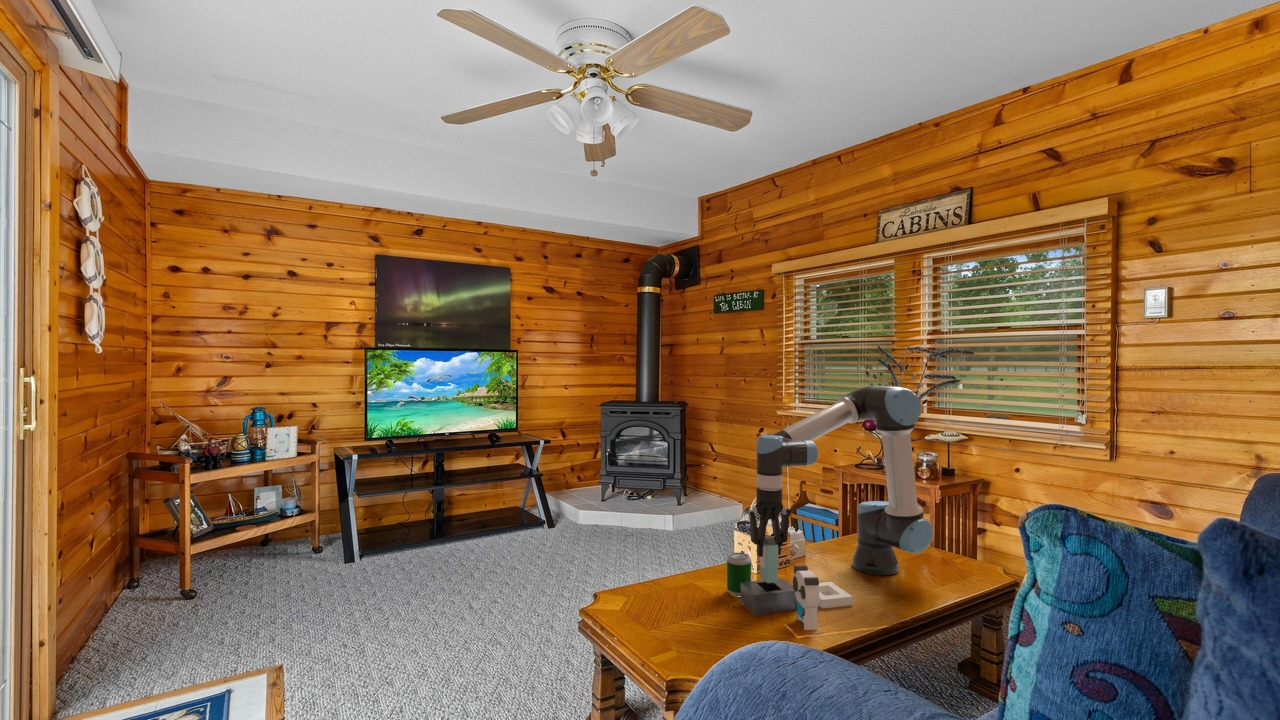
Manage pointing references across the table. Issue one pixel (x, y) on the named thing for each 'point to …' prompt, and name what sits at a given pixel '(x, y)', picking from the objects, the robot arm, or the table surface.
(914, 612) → the table surface
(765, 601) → the block
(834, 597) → the white flat block
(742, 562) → the soda can
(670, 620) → the table surface
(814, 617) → the panda figurine
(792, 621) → the table surface
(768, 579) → the plug
